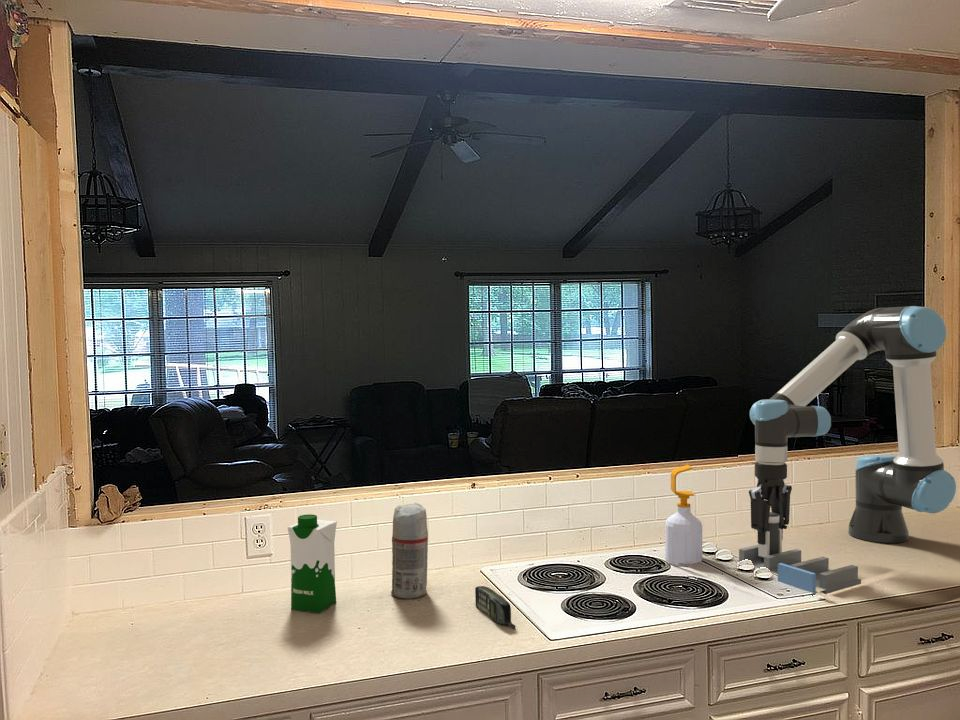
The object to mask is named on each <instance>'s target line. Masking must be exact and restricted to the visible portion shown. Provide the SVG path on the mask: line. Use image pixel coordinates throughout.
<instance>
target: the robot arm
mask: <svg viewBox="0 0 960 720" xmlns="http://www.w3.org/2000/svg"><path fill="white" fill-rule="evenodd" d="M946 328H947V327H946V324H945V322H944V320H943V317H942V316H941V315H940V314H939V313H937V312H936V310H934V309H932V308H931V307H926V306H916V305H910V306H893V307H885V306H884V307H877V308H873V309H872V310H868V311H866V312H865V313H863V314H861V315H859V316H857V318H855V319H854V320H852V321H851V322H849V323H848V324H847V325H846V326H844V328H842V329H841V330H840V331H839V332H838V333H837V334H836V336H835V341H833V342H832V343H831V344H830V345H829V346H828V347H827V348H826V349H824V351H822V352H821V353H820V354H819V355H818V356H817V357H815V358H814V359H813V360H812V361H811V362H810V363H809V364H807V366H805V367H804V368H802V370H801V371H799V373H797V374H796V375H795V376H794V377H793V378H791V379H790V380H789V381H788V382H787V383H786V384H785V385H784V386H783V387H782V388H781V389H779V390H778V391H777V392H776V393H774V395H772V397H771V396H770V398H769V399H767V398H766V399H760V400H758V401H756V402H754V403H753V404H752V406H751V408H750V409H749V419H750V421H751V422H752V424H753V425H754V443H755V445H754V446H755V447H754V452H755V453H754V454H755V455H754V459H755V460H756V462H755V463H754V477H755V478H757V483H756V487H755V488H754V489H749V490H748V496H749V499H750V527H751V529H752V530H756V531H757V545H758V556H761V557H765V556H769V548H770V532H768V531H767V528H768V521H769V514H770V512H773V513H778V514H779V553H781V552H783V546H782V545H783V544H782V543H783V537H784V536H783V534H784V532H783V530H787V528H788V525H789V524H790V513H791V512H790V511H791V509H790V508H791V507H790V506H791V494H792V490H793V486H792V485H789V484H788V485H787V484H785V480H786V479H787V478H788V465H787V463H786V462H788V438H801V437H802V438H803V437H812V438H815V437H819V436H825V435H826V434H827V433H828V432H829V431H830V429H831V427H832V422H831V421H832V417H831V414H830V413H829V411H828V410H827V409H826V408H825V407H824V406H820V405H818V406H817V405H810V406H808V404H810V403H811V402H812V401H813V400H814V399H815V398H816V397H817V396H819V394H821V393H822V392H823V391H824V390H825V389H826V388H827V387H828V386H830V385H831V384H832V383H833V382H834V381H836V379H838V378H839V377H840V376H841V375H842V374H843V373H844V372H845V371H846V370H848V369H849V368H850V367H851V366H852V365H853V364H854V363H855V362H857V361H862V360H864V359H866V358H867V357H868V356H869V355H870V354H872V353H875V352H879V351H885V352H884V353H885V360H886V361H887V362H888V363H889V364H891V365H892V371H893V387H894V402H895V403H894V404H895V415H896V430H897V432H896V433H897V444H898V454H872V455H871V454H870V455H861V456H860V457H859V456H858V458H857V460H856V467H855V470H854V471H855V507H854V510H853V512H852V516H851V518H850V520H849V524H848V531H847V532H848V533H847V534H849V535H850V536H852V537H854V538H856V539H859V540H863V541H867V542H875V543H881V542H882V543H883V544H898V543H899V542H900V543H905V542H908V541H909V536H910V535H909V534H910V532H909V529H908V526H907V522H906V520H905V517H904V513H903V507H904V508H907V509H911V510H914V511H916V512H919V513H925V514H926V513H927V514H938V513H941V512H942V511H945V510H946V509H947V508H948V507H949V505H950V504H951V503H952V502H953V500H954V499H955V495H956V491H957V485H956V483H957V482H956V480H955V477H954V476H953V475H952V474H951V473H949V471H947V470H945V469H944V468H945V467H944V459H943V458H942V457H940V456H939V455H938V454H937V448H936V447H937V446H936V433H935V419H934V418H935V415H934V402H933V385H932V370H931V363H932V362H933V361H934V360H935V359H936V358H937V351H938V350H939V349H941V348H942V347H943V345H944V343H943V342H945V340H946V337H947V329H946ZM762 525H763V526H762ZM907 540H908V541H907ZM904 541H905V542H904Z"/></svg>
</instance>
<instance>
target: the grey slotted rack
mask: <svg viewBox="0 0 960 720" xmlns="http://www.w3.org/2000/svg"><path fill="white" fill-rule="evenodd" d="M745 559H748V560H751V561H752V563H753V565H754V568H757V569H760V567H766V568H768V569H769V570H770V573H773V574H776V575H778V564H779V563H783V564H786V565H790V566H793V567H796V568H799V569H803V570H806V571H809V572H812V573H816V588H818V589H822V590H820V591H819V593H822V594H824V595H827V594H831V593H835V592H837V591H841V590H844V589H847V588H851V587H855V586H858V585H861V584H862V579H860V578H859V573H858V572H859V566H858V565H854V564H849V565H845V566H843V567H839V568H835V569H831V570H830V567H829V564H830V563H829V557H825V556H818V557H816V558H813V559H808V560H804V561H802V550H801V549H797V548H795V549H790V550H785V551H782V552H781V553H777V554H773V555H769V556H765V557H764V563H763V562H762V561H761V556H758V544H755V545H751V546H747V547H742V548H739V549H738V560H737V559H736V562H738V563H741V562H740V561H742V560H745Z"/></svg>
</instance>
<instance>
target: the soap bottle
mask: <svg viewBox="0 0 960 720" xmlns="http://www.w3.org/2000/svg"><path fill="white" fill-rule="evenodd" d="M692 469H693V468H692V466H690V464H686V465H685V464H684V465H682V466H679V467H675V468H674V469H672V470H671V472H670V491H672V492H673V493H674V494H675V495H676V496H678V499H680V502H677V504H676V512H675V513H673V514H671V515H670V516H669V517H668V518H666V519H665V526H664V528H665V529H664V530H665V531H664V532H665V536H664V537H665V538H664V543H665V544H664V545H665V547H664V551H665V554H664V555H665V557H664V558H665V562H667V563H668V564H670V565H671V566H676V567H682V568H688V567H689V566H687V565H688V564H689V565H690V564H691V565H692V564H697V563H701V562H702V561H703V525H702V522H701V520H700V518H698V517H697V516H696V515H694V514H692V512H691V507H692V506H691V503H689V502H688V499H690V497H694V496H695V493H694V492H693V491H692V490H691V491H690V490H677V476H678V475H679V474H681V473H684V472H687V471H690V470H692ZM686 564H687V565H686Z"/></svg>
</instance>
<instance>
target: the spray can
mask: <svg viewBox="0 0 960 720" xmlns="http://www.w3.org/2000/svg"><path fill="white" fill-rule="evenodd" d="M393 511H394V512H393V517H392V534H391V535H392V537H391V545H392V546H391V551H392V552H391V553H392V557H391V559H392V561H391V566H392V568H391V569H392V572H391V592H390V595H392V596H394V597H396V598H399V599H408V600H410V599H417V598H421V597H424V596H425V595H426V594H427V593H428V591H427V584H428V554H429V553H428V552H429V550H428V546H429V545H428V543H429V531H428V519H427V518H428V517H427V516H428V515H427V510H426V508H425V507H424V506H423V505H422V504H420V503H418V502H413V503H406V504H402V505H401V504H399V505H397V506H396V507H395V508H394V510H393Z"/></svg>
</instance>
